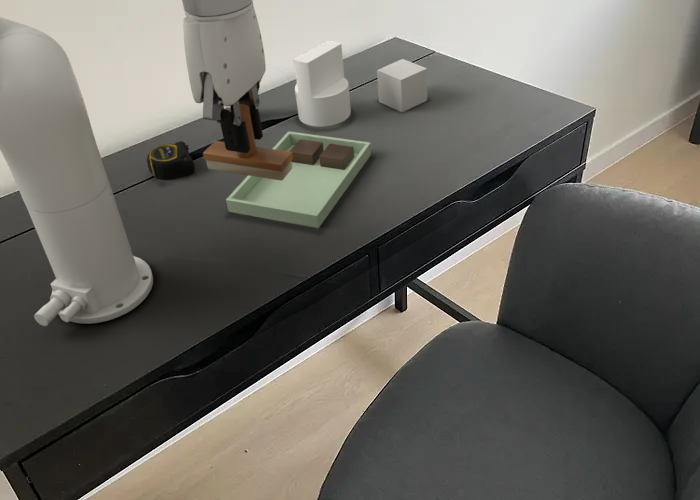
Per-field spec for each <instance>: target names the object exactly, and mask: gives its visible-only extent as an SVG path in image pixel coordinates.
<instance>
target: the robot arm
mask: <svg viewBox="0 0 700 500" xmlns="http://www.w3.org/2000/svg"><path fill="white" fill-rule="evenodd" d="M181 3H182V7H183V11H184V16H185V17H184V18H183V21H182V22H183V23H182V25H183V27H182V28H183V30H182V31H183V45H184V53H185V61H186V68H187V74H188V79H189V80H188V81H189V86H190V91H191V95H192V98H193V101H194V102H195V103H197V104H202V103H203V104H202V105H203V107H202V118H203V119H204V120H209V121H216V123H217V124H219V125H220V128H221V133H222V138H223V142H224V143H225V148H226V149H227V150H229V151H235V152H242V153H248V152H249V151H250V144H249V138H248V133H247V128H246V122H242V118H241V112H240V105H239V104H245V105H248V106H249V109H250V115H251V120H252V126H253V131H254V137H255V140H257V141H259V140H262V138H263V137H264V134H263V128H262V127H263V126H262V122H261V117H260V115H261V114H260V110H259V107H260V104H261V101H260V96H259V91H260V85H261V84H260V83H261V82H262V79H263V77H264V76H265V73H266V69H267V68H266V56H265V48H264V43H263V39H262V34H261V30H260V25H259V19H258V16H257V13H256V9H255V7H254V0H181ZM73 69H74V68H73V66H72V63H71V61H70V58H69V57H68V55H67V52H66V51H65V49H64V48H63V47H62V46H61V45H60V43H59V42H57V41H56V40H55V39H54V38H53V37H52V36H50V35H49V34H47V33H45V32H43V31H41V30H39V29H37V28H34V27H32V26H28V25H26V24H23V23H20V22H18V21H15V20H12V19H8V18H5V17H2V16H0V152H1V154H2V157H3V158H4V161H5V162H6V164H7V166H8V168H9V170H10V172H11V175H12V177H13V179H14V181H15V184H16V186H17V189H18V191H19V193H20V196H21V198H22V201H23V203H24V205H25V207H26V210H27V212H28V214H29V217H30V219H31V223H32V224H33V226H34V229H35V232H36V233H37V236H38V238H39V241H40V244H41V246H42V249H43V251H44V253H45V255H46V258H47V260H48V262H49V265H50V267H51V270H52V272H53V274H54V277H55V279H54V280H53V281H51V283H50V287H51V295H50V296H49V301H48V302H47V303H46V304H44V305H43V306H42V307H41V308H40V309H38V310H37V312H35V314H33V319H34V320H35V321H36V323H37V324H39V325H40V326H43V327H47V326H48V325H49V324H51V322H53V320H54V319H55V318H56V317H57V316H59V318H60V319H61V321H63V322H64V323H69V322H72V323H75V324H83V325H84V324H86V325H89V324H99V323H103V322H108V321H111V320H115V319H117V318H119V317H122V316H124V315H126V314H128V313H129V312H131V311H133V310H134V309H136V307H138V306H139V305H141V303H142V302H143V301H145V300H146V298H147V297H148V296H149V294H150V292H151V291H152V288H153V285H154V275H153V272H152V269H151V267H150V265H149V264H148V263H147V262H146V260H143V259H142V258H140V257H137V256H135V255H134V254H133V251H132V248H131V245H130V242H129V238H128V235H127V233H126V230H125V227H124V223H123V220H122V218H121V215H120V211H119V208H118V205H117V202H116V199H115V195H114V193H113V189H112V186H111V184H110V181H109V177H108V175H107V171H106V169H105V166H104V162H103V159H102V156H101V154H100V150H99V146H98V144H97V140H96V138H95V137H96V136H95V134H94V131H93V127H92V124H91V121H90V117H89V113H88V110H87V106H86V103H85V100H84V98H83V94H82V92H81V89H80V86H79V83H78V79H77V76H76V74H75V72H74V70H73ZM229 106H230V108H231V112H230V111H229V109H225V107H226V108H227V107H228V108H229Z"/></svg>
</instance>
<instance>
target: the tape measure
mask: <svg viewBox="0 0 700 500" xmlns="http://www.w3.org/2000/svg"><path fill="white" fill-rule="evenodd" d="M189 150H190V148H189V144H186V143H185V142H184V141H182V140H180V141H176V142H174V143H164V144H160V145H157V146H156V147H153V148H152V149H151V150H150V151H149V152H148V154H147V157H146V165H147V168H148V171H149V173H150V174H151V175H152V176H153V177H154V178H155V179H158V180H164V181H167V180H175V179H178V178H180V177H183V176H187V175H190V174H192V173H193V172H194V171H195V170H196V169H195V164H194V163H195V162H194V160H193V158H192V156H191V155H190V152H189Z"/></svg>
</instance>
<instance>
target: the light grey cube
mask: <svg viewBox="0 0 700 500" xmlns="http://www.w3.org/2000/svg"><path fill="white" fill-rule="evenodd" d="M427 71H428V68H427V67H424V66H421V65H420V64H417V63H415V62H412V61H409V60H407V59H404V58H401V59H399V60H396V61H394V62H392V63H390V64H387V65H386V66H385V65H384V66H383V67H381V68H379V69H377V70H376V76H377V77H376V78H377V92H378V95H377V96H378V103H381V104H383V105H385V106H387V107H388V108H391V109H393V110H395V111H397V112H400V113H404V112H407V111H408V110H410V109H413V108H415V107H416V106H418V105H422V103H425V102H427V101H428V72H427Z"/></svg>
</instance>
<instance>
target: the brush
mask: <svg viewBox="0 0 700 500" xmlns="http://www.w3.org/2000/svg"><path fill="white" fill-rule="evenodd" d="M239 105H240V112H241V118H242V122H246V128H247V133H248V138H249V144H250V151H249V152H248V153H242V152H235V151H229V150H227V149H226V148H225V143H224V141H219V140H215V141H213V142H212V143H211V144H210V146H209V147H207V148H206V149H205V150H204V151H203V152H202V157H203V160H204V161H206V166H207V169H208V170H212V171H217V172H226V173H229V174H230V173H231V174H238V175H242V176H243V175H245V176H248V175H249V176H256V177H262V178H268V179H274V180H281V181H282V180H283V179H284V178H285V177H286V176H287V174H288V173H289V172H290V171H291V170H292V161H291V160H292V159H293V155H292V152H289V151H283V150H276V149H273V148H268V147H261V146H257V144H256V139H255V137H254V131H253V126H252V120H251V115H250V109H249V106H248V105H245V104H239ZM228 110H229V111H230V112H231V108H229V107H228Z"/></svg>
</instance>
